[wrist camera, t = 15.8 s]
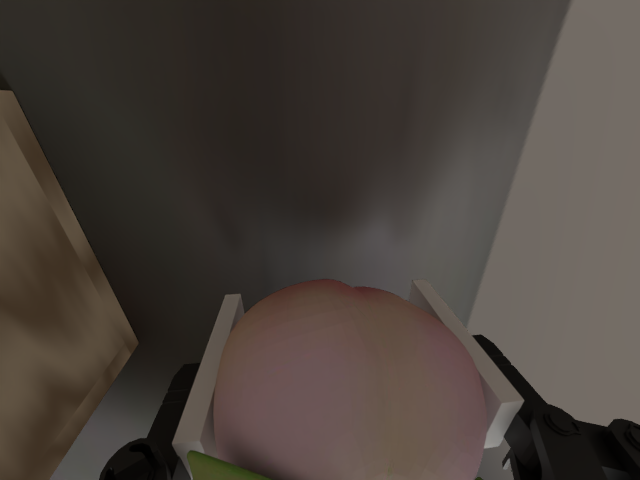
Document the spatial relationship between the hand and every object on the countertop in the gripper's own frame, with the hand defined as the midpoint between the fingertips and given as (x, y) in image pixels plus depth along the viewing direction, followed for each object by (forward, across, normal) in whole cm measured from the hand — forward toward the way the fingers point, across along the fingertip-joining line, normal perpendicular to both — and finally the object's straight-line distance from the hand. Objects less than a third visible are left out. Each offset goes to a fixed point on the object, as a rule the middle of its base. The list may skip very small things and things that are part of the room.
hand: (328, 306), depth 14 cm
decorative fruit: (0, 0, 0) cm, 1 cm away
